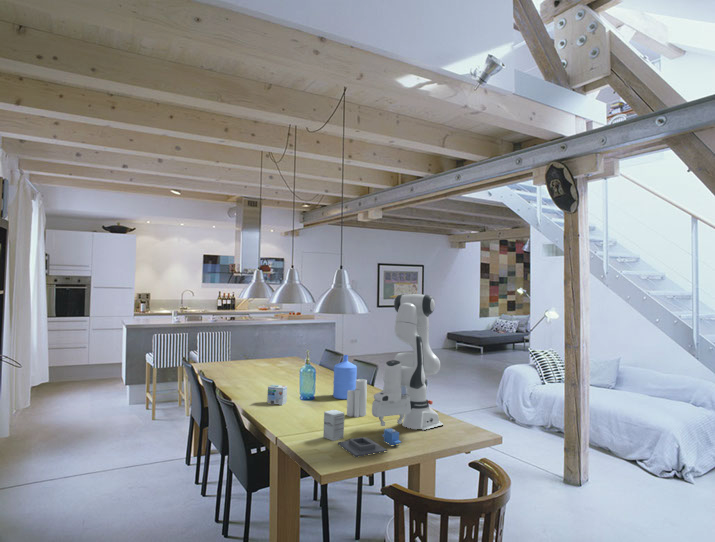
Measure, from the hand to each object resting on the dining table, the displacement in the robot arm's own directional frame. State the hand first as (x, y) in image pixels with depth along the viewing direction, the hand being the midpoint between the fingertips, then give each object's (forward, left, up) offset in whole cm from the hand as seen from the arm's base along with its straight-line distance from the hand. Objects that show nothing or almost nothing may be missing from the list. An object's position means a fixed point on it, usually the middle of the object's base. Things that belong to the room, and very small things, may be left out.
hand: (391, 424), depth 214 cm
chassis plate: (+16, 0, -9) cm, 18 cm away
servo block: (0, 0, -9) cm, 9 cm away
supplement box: (+22, -18, -9) cm, 30 cm away
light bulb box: (+27, -91, -9) cm, 96 cm away
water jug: (-20, -90, -9) cm, 93 cm away
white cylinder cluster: (-7, -48, -9) cm, 50 cm away
